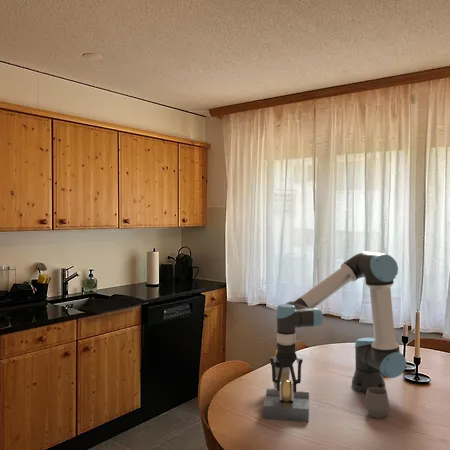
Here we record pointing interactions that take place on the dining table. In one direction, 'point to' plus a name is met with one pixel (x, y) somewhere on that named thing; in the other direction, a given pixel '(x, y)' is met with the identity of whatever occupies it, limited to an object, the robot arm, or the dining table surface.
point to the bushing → (286, 391)
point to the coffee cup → (284, 374)
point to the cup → (376, 402)
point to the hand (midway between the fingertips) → (286, 399)
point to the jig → (286, 406)
